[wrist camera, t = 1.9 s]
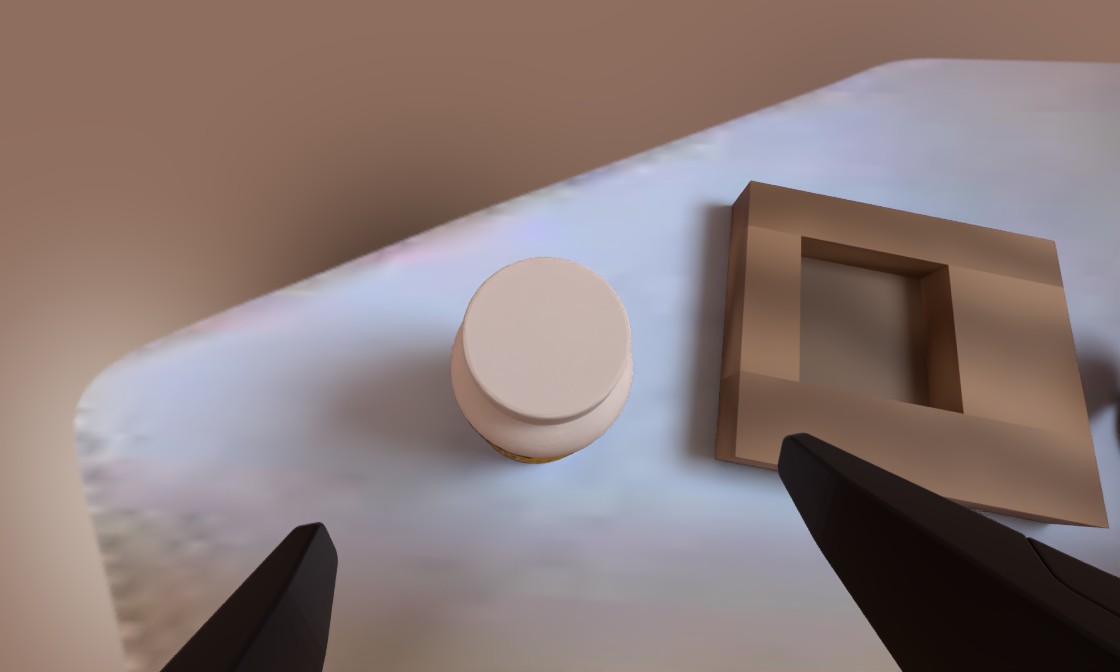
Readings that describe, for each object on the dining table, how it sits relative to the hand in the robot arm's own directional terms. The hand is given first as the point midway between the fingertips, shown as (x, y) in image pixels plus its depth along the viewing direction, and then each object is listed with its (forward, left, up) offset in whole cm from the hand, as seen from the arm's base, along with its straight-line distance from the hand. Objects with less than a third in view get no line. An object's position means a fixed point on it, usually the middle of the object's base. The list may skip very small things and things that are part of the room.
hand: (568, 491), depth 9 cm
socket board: (+9, -14, -10) cm, 20 cm away
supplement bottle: (+3, +1, -11) cm, 11 cm away
